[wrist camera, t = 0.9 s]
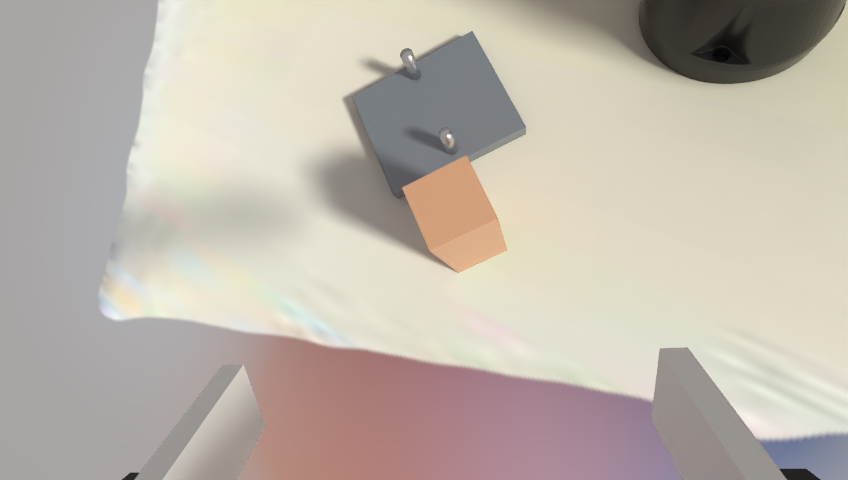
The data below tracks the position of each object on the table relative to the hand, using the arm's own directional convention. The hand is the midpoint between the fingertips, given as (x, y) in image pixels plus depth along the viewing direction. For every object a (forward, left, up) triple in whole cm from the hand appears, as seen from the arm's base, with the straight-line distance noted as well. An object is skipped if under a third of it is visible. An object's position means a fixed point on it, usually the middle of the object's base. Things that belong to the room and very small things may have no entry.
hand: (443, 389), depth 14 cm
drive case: (-2, -10, -25) cm, 27 cm away
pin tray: (-4, -23, -25) cm, 34 cm away
